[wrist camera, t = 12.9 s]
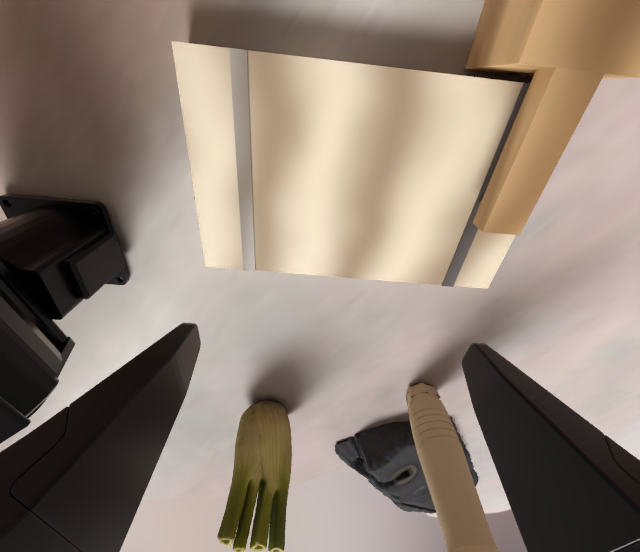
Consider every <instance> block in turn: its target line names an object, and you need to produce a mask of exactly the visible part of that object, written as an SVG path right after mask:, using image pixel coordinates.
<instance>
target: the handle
mask: <svg viewBox="0 0 640 552" xmlns="http://www.w3.org/2000/svg"><path fill="white" fill-rule="evenodd" d="M439 398H440V396H439V394H438V392H437V390H436V389H435V387H433V386H429V385H426V384H424V383H419V384H417V385H415V386H410V387H409V388H408V394H407V395H406V401H407V406H408V411H409V419H410V424H411V429H412V434H413V438H414V442H415V446H416V450H417V454H418V457H419V460H420V463H421V466H422V469H423V472H424V475H425V478H426V481H427V485H428V488H429V491H430V494H431V497H432V500H433V503H434V507H435V510H436V513H437V516H438V519H439V523H440V526H441V529H442V532H443V535H444V539H445V543H446V547H447V550H448V552H499V551H498V550H497V547H496V544H495V542H494V539H493V537H492V534H491V531H490V529H489V526H488V523H487V520H486V517H485V514H484V511H483V508H482V505H481V502H480V499H479V496H478V493H477V490H476V488H475V485H474V481H473V478H472V475H471V472H470V469H469V466H468V463H467V460H466V457H465V454H464V451H463V448H462V445H461V444H460V440H459V438H458V436H457V433H456V431H455V429H454V426H453V424H452V422H451V419H450V417H449V415H448V413H447V411H446V409H445V407H444V405H443V404H442V402H441V400H439Z"/></svg>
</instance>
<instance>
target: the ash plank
mask: <svg viewBox="0 0 640 552" xmlns="http://www.w3.org/2000/svg"><path fill="white" fill-rule="evenodd" d="M171 42H172V49H173V55H174V62H175V69H176V75H177V82H178V89H179V95H180V102H181V108H182V115H183V122H184V128H185V135H186V142H187V148H188V155H189V162H190V168H191V175H192V181H193V188H194V195H195V201H196V208H197V215H198V221H199V228H200V235H201V241H202V248H203V255H204V261H205V266H207V267H219V268H232V269H243V270H247V271H255V270H257V271H270V272H283V273H296V274H308V275H321V276H334V277H346V278H359V279H372V280H385V281H397V282H410V283H423V284H435V285H442V286H451V287H453V286H461V287H474V288H486V289H488V287H489V285H490V283H491V281H492V280H493V278H494V276H495V274H496V272H497V270H498V268H499V266H500V264H501V262H502V260H503V258H504V256H505V255H506V253H507V251H508V249H509V247H510V245H511V243H512V241H513V239H514V237H515V235H510V234H498V233H487V232H482V231H481V230H480V229H479V228H478V227H476V226H475V225H474V224H473V220H474V218H475V216H476V213H477V211H478V208H479V203H480V202H481V201H482V199H483V196H484V194H485V192H486V189H487V187H488V184H489V182H490V180H491V177H492V175H493V172H494V170H495V168H496V165H497V163H498V160H499V158H500V155H501V153H502V151H503V148H504V146H505V143H506V141H507V139H508V136H509V134H510V131H511V129H512V127H513V124H514V122H515V119H516V117H517V115H518V112H519V110H520V107H521V105H522V103H523V100H524V98H525V95H526V93H527V91H528V88H529V86H530V83H521V82H513V81H504V80H496V79H487V78H479V77H470V76H462V75H453V74H445V73H437V72H428V71H420V70H411V69H403V68H394V67H386V66H377V65H369V64H360V63H352V62H343V61H335V60H327V59H318V58H310V57H301V56H293V55H284V54H276V53H267V52H259V51H250V50H243V49H235V48H225V47H217V46H208V45H200V44H191V43H183V42H174V41H171Z"/></svg>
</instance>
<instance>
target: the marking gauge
mask: <svg viewBox="0 0 640 552" xmlns="http://www.w3.org/2000/svg"><path fill="white" fill-rule="evenodd" d="M465 69H470V70H478V71H487V72H495V73H504V74H513V75H521V76H530V77H533V79H532V81H531V83H530V86H529V88H528V91H527V93H526V95H525V98H524V100H523V103H522V105H521V107H520V110H519V112H518V115H517V117H516V119H515V122H514V124H513V127H512V129H511V131H510V134H509V136H508V139H507V141H506V143H505V146H504V148H503V151H502V153H501V155H500V158H499V160H498V163H497V165H496V168H495V170H494V172H493V175H492V177H491V180H490V182H489V184H488V187H487V189H486V192H485V194H484V196H483V199H482V201H481V202H480V203H479V208H478V211H477V213H476V216H475V218H474V220H473V224H474V225H475V226H476V227H478V228H479V229H480V230H481V231H482V232H487V233H498V234H510V235H520V233H521V231H522V229H523V227H524V226H525V224H526V222H527V220H528V218H529V216H530V214H531V212H532V210H533V208H534V207H535V205H536V203H537V201H538V199H539V197H540V195H541V193H542V191H543V189H544V188H545V186H546V184H547V182H548V180H549V178H550V176H551V174H552V172H553V171H554V169H555V167H556V165H557V163H558V161H559V159H560V157H561V155H562V153H563V152H564V150H565V148H566V146H567V144H568V142H569V140H570V138H571V136H572V134H573V133H574V131H575V129H576V127H577V125H578V123H579V121H580V119H581V117H582V115H583V114H584V112H585V110H586V108H587V106H588V104H589V102H590V100H591V98H592V97H593V95H594V93H595V91H596V89H597V87H598V85H599V83H600V81H601V79H602V78H633V77H640V0H485V4H484V7H483V10H482V13H481V17H480V20H479V23H478V27H477V30H476V33H475V37H474V40H473V43H472V47H471V50H470V53H469V57H468V60H467V63H466V67H465Z"/></svg>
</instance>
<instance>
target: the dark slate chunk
mask: <svg viewBox="0 0 640 552" xmlns="http://www.w3.org/2000/svg"><path fill="white" fill-rule="evenodd" d="M449 417H450V416H449ZM450 419H451V422H452V424H453V426H454V429H455V431H456V433H457V436H458V438H459V440H460V444H461V445H462V448H463V451H464V454H465V457H466V460H467V463H468V466H469V469H470V472H471V475H472V478H473V481H474V485H475V486H476V485H477V483H478V477H477V473H476V472H475V470H474V469H473V467H474V466H473V463H472V462H471V458H470V455H469V454H468V451H467V449H465V448H466V447H465V445H464V443H463V441H462V439H461V438H460V435H459V433H458V432H457V429H456V427H455V424H454V422H453V421H452V418H451V417H450ZM335 451H336V454H338V455H339V457H340V458H341V459H342V460H343V461H344V462H345V463H346V464H347V465H349V466H350V467H352V468H353V469H355V470H356V471H357V472H358V473H360V474H361V475H363V476H364V477H366V478H367V479H368V480H369V482H370V483H371V484H372V485H373V486H374V487H375V488H376V489H378V490H379V491H381V492H382V493H383V494H384V495H385V496H387V497H388V498H390V499H391V500H392V501H393V502H394V504H396V505H397V506H398V507H399V508H400V509H402V510H404V511H408V512H411V511H416V512H425V513H436V510H435V507H434V503H433V500H432V497H431V494H430V491H429V488H428V485H427V481H426V478H425V475H424V472H423V469H422V466H421V463H420V460H419V457H418V454H417V450H416V446H415V442H414V438H413V434H412V429H411V424H410V421H407V422H393V423H389V424H386V425H381V426H379V427H375V428H372V429H368V430H365V431H362V432H360V434H358V435H355V436H354V437H351V438H347V441H345V442H341V443H338V444H336V445H335ZM360 457H361V458H360Z"/></svg>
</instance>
